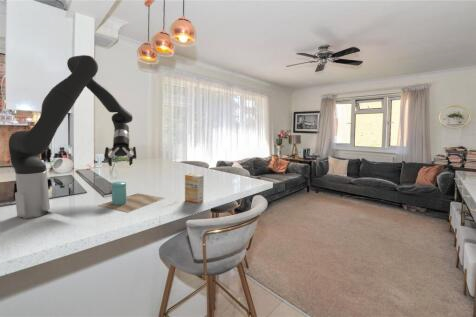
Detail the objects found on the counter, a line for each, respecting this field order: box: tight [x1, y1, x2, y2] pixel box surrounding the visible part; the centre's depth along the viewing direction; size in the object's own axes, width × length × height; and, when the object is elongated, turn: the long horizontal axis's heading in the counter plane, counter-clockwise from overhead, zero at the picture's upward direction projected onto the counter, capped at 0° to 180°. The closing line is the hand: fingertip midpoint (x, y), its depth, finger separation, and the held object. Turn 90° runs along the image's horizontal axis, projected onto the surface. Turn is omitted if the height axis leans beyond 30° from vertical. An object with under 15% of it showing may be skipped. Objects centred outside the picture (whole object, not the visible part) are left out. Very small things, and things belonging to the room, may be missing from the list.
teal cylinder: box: [110, 181, 127, 205], centre depth 105 cm, size 6×6×9 cm
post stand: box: [97, 192, 165, 214], centre depth 107 cm, size 22×18×8 cm
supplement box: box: [184, 172, 205, 204], centre depth 115 cm, size 8×5×13 cm, turn 62°
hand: (120, 165), depth 114 cm, fingers open, 8 cm apart
